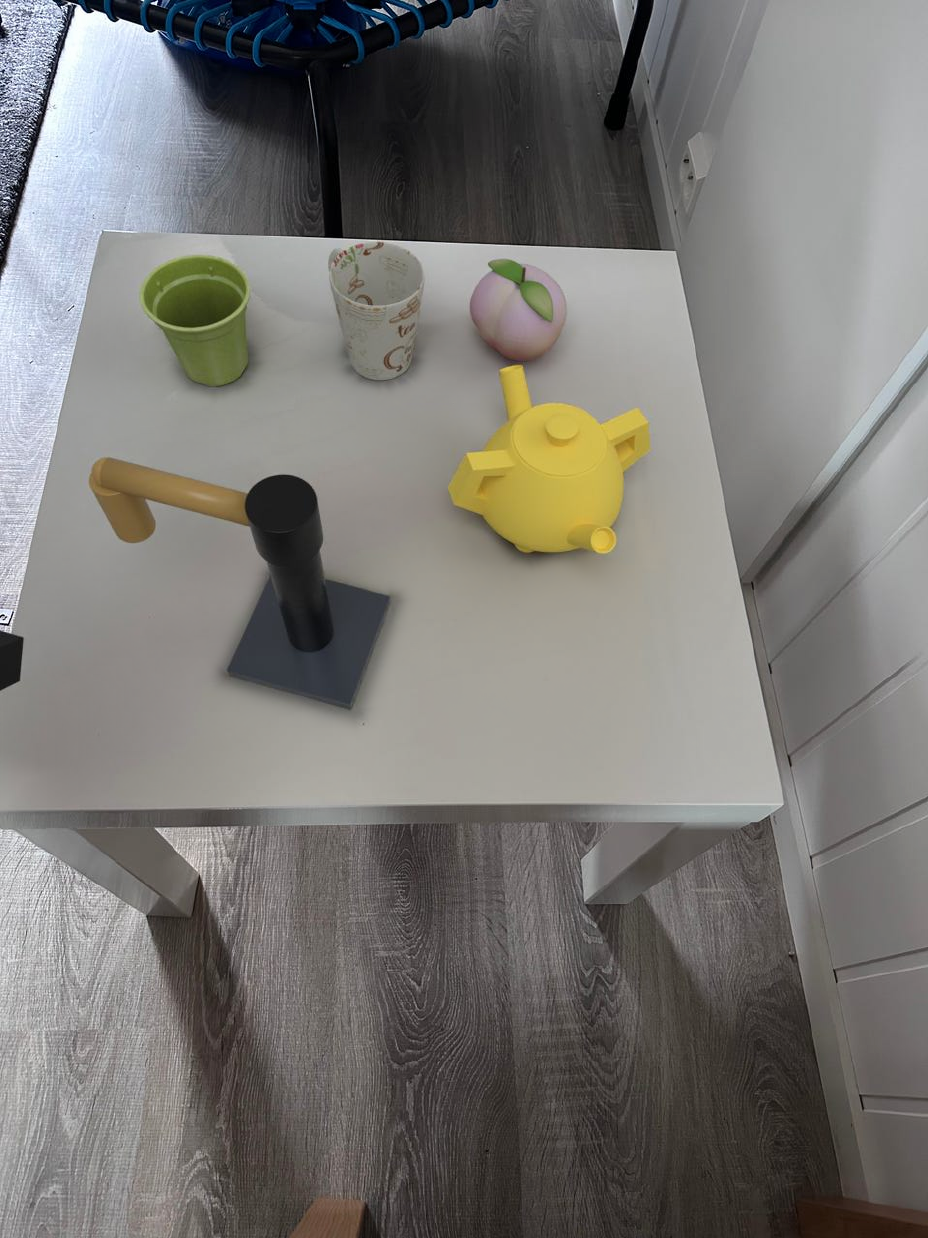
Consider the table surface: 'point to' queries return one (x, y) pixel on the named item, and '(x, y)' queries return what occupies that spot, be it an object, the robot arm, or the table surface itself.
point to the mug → (377, 305)
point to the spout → (213, 507)
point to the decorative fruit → (518, 309)
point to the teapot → (551, 472)
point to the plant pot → (201, 315)
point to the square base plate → (310, 635)
